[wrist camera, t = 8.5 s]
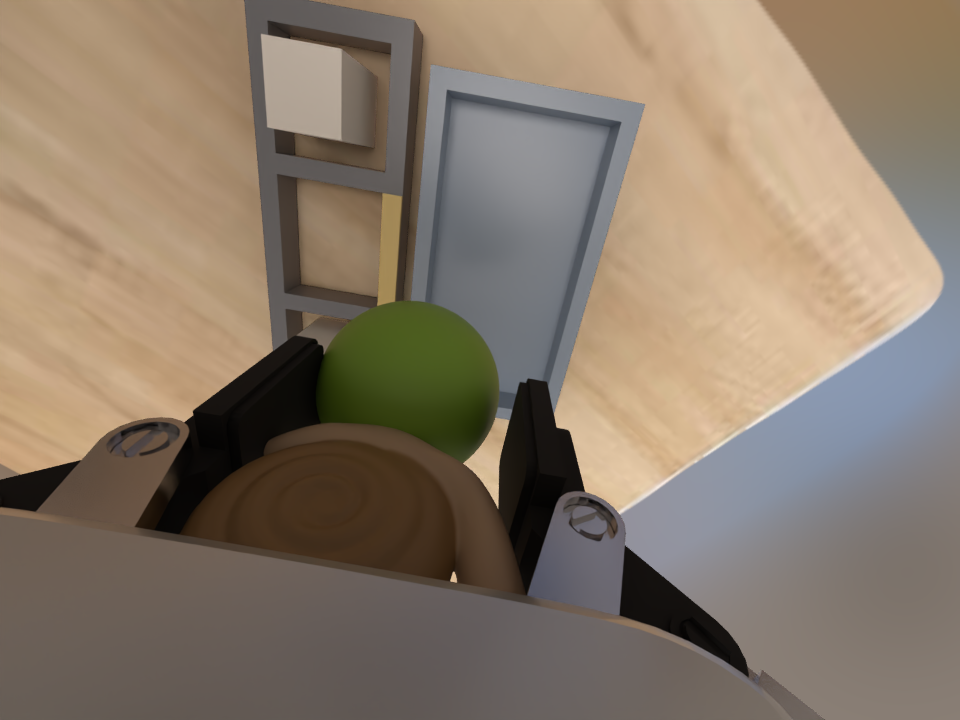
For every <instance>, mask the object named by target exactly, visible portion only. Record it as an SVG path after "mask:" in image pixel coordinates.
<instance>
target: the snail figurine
mask: <svg viewBox="0 0 960 720" xmlns="http://www.w3.org/2000/svg"><path fill="white" fill-rule="evenodd" d="M498 403H499V377H498V372H497V368H496V364H495V361H494V358H493V356H492V353H491V351H490V349H489V347H488V346H487V344H486V342H485V341H484V339H483V338H482V337H481V335H480V334H479V333H478V332H477V331H476V329H475V328H474V327H473V326H472V325H471V324H469V323H468V322H467V321H466V320H465V319H463V318H462V317H460V316H459V315H457V314H456V313H454V312H452V311H450V310H448V309H446V308H444V307H441V306H438V305H435V304H431V303H427V302H421V301H396V302H390V303H386V304H382V305H379V306H376V307H374V308H371V309H369V310H367V311H365V312H363V313H361V314H360V315H358V316H357V317H355V318H354V319H352V320H351V321H350V322H349V323H347V324H346V325H345V326H344V327H343V328H342V329H341V330H340V331H339V332H338V333H337V335H336V336H335V337H334V338H333V340H332V341H331V343H330V344H329V346H328V348H327V349H326V351H325V353H324V357H323V359H322V362H321V366H320V369H319V373H318V378H317V385H316V407H317V412H318V416H319V419H320V422H321V424H316V425H311V426H307V427H303V428H299V429H296V430H293V431H290V432H287V433H284V434H281V435H279V436H277V437H274V438H272V439H270V440H269V441H268V442H267V444H266V446H265V448H264V456H263V457H260V458H258V459H256V460H254V461H252V462H250V463H248V464H246V465H244V466H243V467H241V468H240V469H238V470H236V471H235V472H233V473H232V474H230V475H229V476H228V477H226V478H225V479H224V480H223V481H222V482H220V483H219V484H218V485H217V486H216V487H215V488H213V489H212V490H211V491H210V492H209V493H208V494H207V495H206V497H205V498H204V499H203V500H202V501H201V502H200V504H199V505H198V506H197V507H196V508H195V510H194V511H193V512H192V513H191V515H190V516H189V518H188V520H187V522H186V523H185V525H184V527H183V529H182V531H181V532H180V534H179V535H184V536H190V537H196V538H202V539H208V540H214V541H220V542H226V543H232V544H238V545H244V546H250V547H255V548H261V549H267V550H273V551H279V552H285V553H290V554H296V555H302V556H308V557H314V558H319V559H325V560H331V561H337V562H342V563H348V564H354V565H360V566H365V567H371V568H377V569H382V570H388V571H394V572H399V573H405V574H410V575H416V576H422V577H427V578H433V579H438V580H444V581H450V580H451V576H452V573H453V571H454V572H455V574H456V578H457V583H461V584H466V585H472V586H478V587H483V588H489V589H494V590H500V591H505V592H510V593H516V594H521V595H526V593H525V589H524V585H523V581H522V578H521V574H520V571H519V567H518V564H517V560H516V557H515V553H514V550H513V546H512V543H511V540H510V537H509V534H508V532H507V529H506V526H505V524H504V521H503V519H502V517H501V514H500V512H499V510H498V508H497V506H496V504H495V502H494V500H493V499H492V497H491V495H490V493H489V492H488V490H487V489H486V487H485V486H484V484H483V483H482V481H481V480H480V479H479V478H478V477H477V475H476V474H475V473H474V472H473V471H471V470H470V469H469V468H468V467H467V466H465V465H464V464H463V463H464V462H465V461H466V460H467V459H468V458H470V457H471V456H472V455H473V454H474V453H475V452H476V450H477V449H478V448H479V447H480V446H481V444H482V443H483V441H484V440H485V438H486V437H487V435H488V433H489V431H490V429H491V427H492V425H493V422H494V420H495V416H496V413H497V409H498Z"/></svg>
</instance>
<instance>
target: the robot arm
mask: <svg viewBox="0 0 960 720" xmlns="http://www.w3.org/2000/svg"><path fill="white" fill-rule="evenodd" d="M323 357H324V348H323V346H322V345H319V344H318V341H317V340H316V339H313V338H308V337H302V336H297V335H295V336H293V337H291V338H290V339H289V340H287V341H286V342H285V343H283V344H282V345H281V346H279V347H278V348H277V349H275V350H274V351H273V352H271V353H270V354H269V355H267V356H266V357H264V358H263V359H262V360H260V361H259V362H258V363H256V364H255V365H254V366H252V367H251V368H250V369H248V370H247V371H246V372H244V373H243V374H242V375H240V376H239V377H238V378H236V379H235V380H234V381H232V382H231V383H229V384H228V385H227V386H225V387H224V388H223V389H221V390H220V391H219V392H217V393H216V394H215V395H213V396H212V397H211V398H209V399H208V400H207V401H205V402H204V403H203V404H201V405H200V406H199V407H197V408H196V409H195V410H193V416H192V417H191V418H189V419H188V420H187V421H185V422H182V421H180V420H177V419H173V418H163V417H159V418H147V419H143V420H138V421H133V422H131V423H128V424H125V425H122V426H120V427H118V428H116V429H114V430H112V431H110V432H108V433H107V434H106V435H105V436H104V437H102V438H101V439H100V440H99V441H98V442H97V443H96V444H95V446H94V447H93V448H92V449H91V450H90V451H89V452H88V453H87V455H86V456H85V457H84V458H83V459H82V460H80V461H76V462H71V463H67V464H63V465H59V466H55V467H51V468H47V469H43V470H38V471H34V472H30V473H26V474H22V475H18V476H14V477H10V478H6V479H1V480H0V720H825V719H823V718H822V717H821V716H820V715H818V714H817V713H816V712H814V711H813V710H812V709H811V708H809V707H808V706H807V705H805V704H804V703H803V702H802V701H801V700H799V699H798V698H797V697H796V696H794V695H793V694H792V693H791V692H789V691H788V690H787V689H786V688H784V687H783V686H782V685H781V684H779V683H778V682H777V681H775V680H774V679H773V678H772V677H770V676H769V675H768V674H767V673H765V672H764V671H763V670H761V671H760V672H759V673H758V674H756V673H754V672H753V671H752V670H751V669H749V668H748V667H747V664H746V660H745V658H744V656H743V654H742V652H741V650H740V648H739V646H738V645H737V643H736V642H735V641H734V639H733V638H732V637H731V635H730V634H729V633H728V632H727V631H726V630H725V629H724V628H723V627H722V626H721V625H720V624H719V623H718V622H717V621H716V620H715V619H714V618H712V617H711V616H710V615H709V614H707V613H706V612H705V611H704V610H703V609H701V608H700V607H699V606H698V605H697V604H695V603H694V602H693V601H692V600H691V599H689V598H688V597H687V596H686V595H685V594H683V593H682V592H681V591H680V590H678V589H677V588H676V587H675V586H674V585H672V584H671V583H670V582H669V581H667V580H666V579H665V578H664V577H662V576H661V575H660V574H659V573H658V572H657V571H655V570H654V569H653V568H652V567H651V566H649V565H648V564H647V563H646V562H645V561H643V560H642V559H641V558H640V557H638V556H637V555H636V554H635V553H633V552H632V551H631V550H630V549H629V548H627V547H626V546H625V535H626V532H625V524H624V522H623V520H622V518H621V516H620V515H619V513H618V512H617V511H616V510H615V509H614V507H612V506H611V505H610V504H609V503H607V502H606V501H605V500H603V499H601V498H599V497H597V496H596V495H593V494H590V493H586V492H585V490H584V486H583V482H582V478H581V474H580V470H579V466H578V462H577V458H576V454H575V450H574V446H573V442H572V438H571V434H570V432H569V431H568V430H566V429H560V428H556V423H555V418H554V413H553V408H552V403H551V398H550V393H549V388H548V383H547V382H546V381H540V380H535V379H530V378H528V379H527V381H526V383H525V382H520V383H519V386H518V389H517V393H516V397H515V401H514V405H513V409H512V413H511V417H510V421H509V425H508V429H507V433H506V437H505V441H504V445H503V449H502V453H501V458H500V465H499V507H498V510H499V512H500V514H501V517H502V519H503V521H504V524H505V526H506V529H507V532H508V534H509V537H510V540H511V543H512V546H513V550H514V553H515V557H516V560H517V564H518V567H519V571H520V574H521V578H522V581H523V585H524V589H525V593H526V595H521V594H516V593H510V592H505V591H500V590H494V589H489V588H483V587H478V586H472V585H466V584H461V583H455V582H450V581H444V580H438V579H433V578H427V577H422V576H416V575H410V574H405V573H399V572H394V571H388V570H382V569H377V568H371V567H365V566H360V565H354V564H348V563H342V562H337V561H331V560H325V559H319V558H314V557H308V556H302V555H296V554H290V553H285V552H279V551H273V550H267V549H261V548H255V547H250V546H244V545H238V544H232V543H226V542H220V541H214V540H208V539H202V538H196V537H190V536H184V535H179V534H180V532H181V531H182V529H183V527H184V525H185V523H186V522H187V520H188V518H189V516H190V515H191V513H192V512H193V511H194V510H195V508H196V507H197V506H198V505H199V504H200V502H201V501H202V500H203V499H204V498H205V497H206V495H207V494H208V493H209V492H210V491H211V490H212V489H213V488H215V487H216V486H217V485H218V484H219V483H220V482H222V481H223V480H224V479H225V478H226V477H228V476H229V475H230V474H232V473H233V472H235V471H236V470H238V469H240V468H241V467H243V466H244V465H246V464H248V463H250V462H252V461H254V460H256V459H258V458H260V457H263V456H264V448H265V446H266V444H267V442H268V441H269V440H270V439H272V438H274V437H277V436H279V435H281V434H284V433H287V432H290V431H293V430H296V429H299V428H303V427H307V426H311V425H316V424H321V422H320V419H319V416H318V412H317V407H316V385H317V378H318V373H319V369H320V366H321V362H322V359H323Z"/></svg>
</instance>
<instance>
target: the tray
mask: <svg viewBox="0 0 960 720" xmlns="http://www.w3.org/2000/svg"><path fill="white" fill-rule="evenodd" d="M644 106H645V104H642V103H636V102H631V101H625V100H620V99H615V98H609V97H604V96H599V95H593V94H588V93H582V92H577V91H572V90H566V89H561V88H555V87H550V86H545V85H539V84H534V83H528V82H523V81H518V80H512V79H507V78H502V77H496V76H491V75H485V74H480V73H475V72H469V71H464V70H458V69H453V68H448V67H442V66H437V65H432V64H431V70H430V82H429V94H428V105H427V117H426V129H425V140H424V152H423V163H422V175H421V187H420V198H419V210H418V222H417V233H416V245H415V257H414V268H413V280H412V291H411V301H421V302H427V303H431V304H435V305H438V306H441V307H444V308H446V309H448V310H450V311H452V312H454V313H456V314H457V315H459V316H460V317H462V318H463V319H465V320H466V321H467V322H468V323H469V324H471V325H472V326H473V327H474V328H475V329H476V331H477V332H478V333H479V334H480V335H481V337H482V338H483V339H484V341H485V342H486V344H487V346H488V347H489V349H490V351H491V353H492V356H493V358H494V361H495V364H496V368H497V372H498V377H499V403H498V409H497V413H496V416H495V417H496V418H501V419H507V420H510V417H511V413H512V409H513V405H514V401H515V397H516V393H517V389H518V386H519V383H520V382H525V383H526V381H527V379H528V378H530V379H535V380H540V381H546V382H547V383H548V388H549V393H550V398H551V403H552V408H553V413H554V412H555V408H556V405H557V401H558V398H559V395H560V391H561V388H562V384H563V381H564V378H565V374H566V371H567V368H568V364H569V361H570V357H571V354H572V351H573V347H574V344H575V340H576V337H577V334H578V330H579V327H580V323H581V320H582V317H583V313H584V310H585V306H586V303H587V300H588V296H589V293H590V290H591V286H592V283H593V279H594V276H595V273H596V269H597V266H598V262H599V259H600V256H601V252H602V249H603V245H604V242H605V239H606V235H607V232H608V229H609V225H610V222H611V218H612V215H613V212H614V208H615V205H616V201H617V198H618V195H619V191H620V188H621V184H622V181H623V178H624V174H625V171H626V167H627V164H628V161H629V157H630V154H631V151H632V147H633V144H634V140H635V137H636V134H637V130H638V127H639V123H640V120H641V117H642V113H643V110H644Z"/></svg>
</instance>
